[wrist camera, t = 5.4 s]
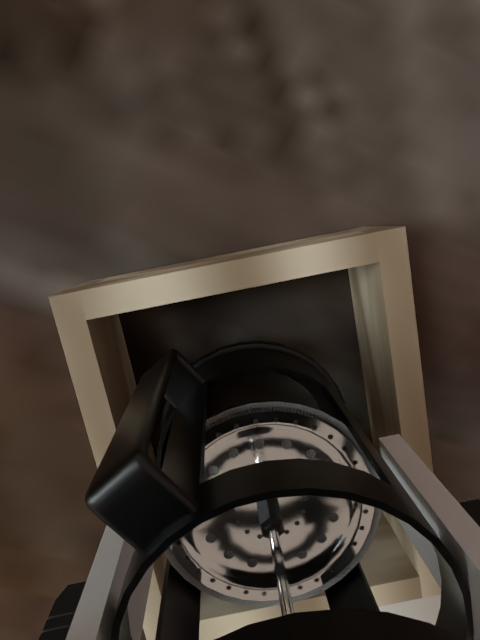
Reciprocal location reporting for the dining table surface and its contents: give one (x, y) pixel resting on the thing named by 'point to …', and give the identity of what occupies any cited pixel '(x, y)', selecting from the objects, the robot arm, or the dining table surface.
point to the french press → (259, 505)
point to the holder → (245, 272)
